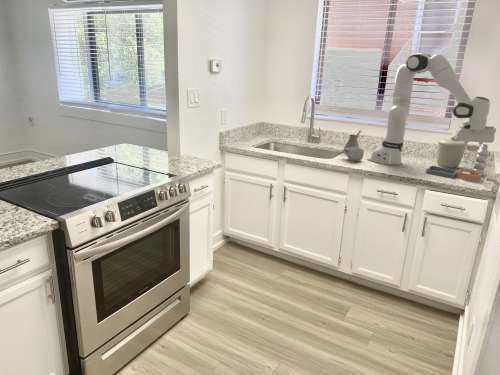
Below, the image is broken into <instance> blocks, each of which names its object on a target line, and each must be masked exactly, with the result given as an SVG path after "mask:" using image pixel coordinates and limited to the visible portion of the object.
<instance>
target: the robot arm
mask: <svg viewBox="0 0 500 375" xmlns="http://www.w3.org/2000/svg"><path fill="white" fill-rule="evenodd" d="M427 71H428V72H429V73H430V75H431V76H432V79H433V80H434V82H435V83H436V84H437V85H438V86H439V87H440V88H443V89H445V90H447V91H448V92H449V93H451V94H452V95H453V97H454V99H455V100H456V104H455V105H454V106H453V107H452V114H453V116H454V117H455V118H457V119H462V120H463V119H469V120H468V121H466V122H461V123H459V124H458V127H459V128H457V129H456V132H455V135H454V136H455V140H456V141H463V142H464V143H465V146H466V147H465V150H467V149H469V146H468V145H467V144H469V142H471V143H478V144H477V146H478V147H477V151H478V150H480V148H481V145H482V144H485V143H486V144H488V143H489V144H491V143H493V142H494V141H495V134H496V131H497V129H496V127H494V126H488V125H487V122H488V116H489V112H490V105H491V102H490V99H488V98H486V97H483V96H475V97H473V98H470V97H469V95H468V94H467V92H466V91H465V89H464V88H463V86H462V84H461V82H460V81H459V79H458V77H457V75H456V73H455V71H454V69H453V68H452V66H451V64H450V61H448V59H447V58H446V57H445V56H444V55H443V54H439V53H438V54H434V55H433V56H431V55H430V54H428V53H413V54H411V55H409V56H408V57H407V58H406V62H405V64H402V65H400V66H398V69H397V72H396V74H395V80H394V85H393V86H394V87H393V92H392V105H391V106H392V107H391V108H390V109H389V112H388V116H387V117H388V118H387V129H386V137H385V139H384V140H383V141H382V142H381V146H379V147H377V148H375V149H374V150H373V151H372V153H371V154H370V156H368V157H367V160H368V161H371V162H375V163H378V164H379V163H380V164H382V165H387V166H388V165H401V164H402V163H403V162H402V151H403V147H404V138H405V133H406V130H405V129H406V123H407V122H406V121H407V118H408V116H409V114H410V110H411V109H410V107H411V99H412V91H413V84H414V78H415V76H416V74H421V73H425V72H427Z"/></svg>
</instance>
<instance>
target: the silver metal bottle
mask: <svg viewBox="0 0 500 375" xmlns="http://www.w3.org/2000/svg"><path fill="white" fill-rule="evenodd" d="M488 148H489V145H488V144H487V143H486V144H485V143H482V145H481V146H480V148H479V150H477V152H476V159H475V164H474V166H473V169H472V171H476V172H479V173H481V174H482V175H481V177H484V175H485V169H486V168H485V166H486V163H487V159H488V157H489V154H490V152H489V150H488Z"/></svg>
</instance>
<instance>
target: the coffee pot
mask: <svg viewBox="0 0 500 375" xmlns="http://www.w3.org/2000/svg"><path fill="white" fill-rule="evenodd" d="M361 133H363V131H362V130H359V131H358V132H357V133H356V135H355V134H349V135H348V136H349V139H348V140H347V142H346V144H345V146H344V148H351V147H356V148H360V146H359V142H358V138H359V135H360V134H361ZM344 148H343V149H344ZM345 152H346V153H347V154H348V151H347V149H345Z"/></svg>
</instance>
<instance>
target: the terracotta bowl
mask: <svg viewBox="0 0 500 375" xmlns="http://www.w3.org/2000/svg"><path fill="white" fill-rule="evenodd" d="M463 171H465V172H470V174H465V173H462V172H463ZM481 175H482V174H481V173H479V172H476V171H473V169H472V170H470V169H458V171H457V174H456V178H458V179H460V180H462V181H467V182H480V181H481V178H482V176H481Z"/></svg>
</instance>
